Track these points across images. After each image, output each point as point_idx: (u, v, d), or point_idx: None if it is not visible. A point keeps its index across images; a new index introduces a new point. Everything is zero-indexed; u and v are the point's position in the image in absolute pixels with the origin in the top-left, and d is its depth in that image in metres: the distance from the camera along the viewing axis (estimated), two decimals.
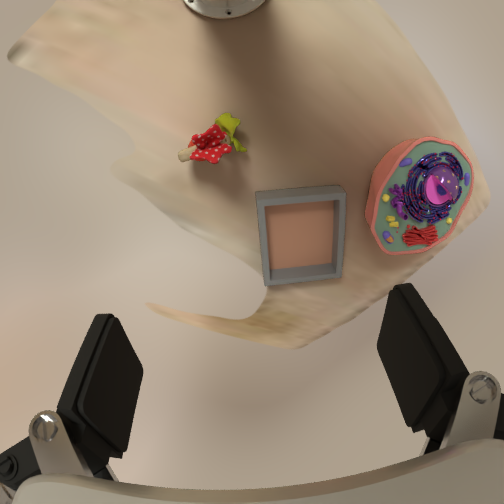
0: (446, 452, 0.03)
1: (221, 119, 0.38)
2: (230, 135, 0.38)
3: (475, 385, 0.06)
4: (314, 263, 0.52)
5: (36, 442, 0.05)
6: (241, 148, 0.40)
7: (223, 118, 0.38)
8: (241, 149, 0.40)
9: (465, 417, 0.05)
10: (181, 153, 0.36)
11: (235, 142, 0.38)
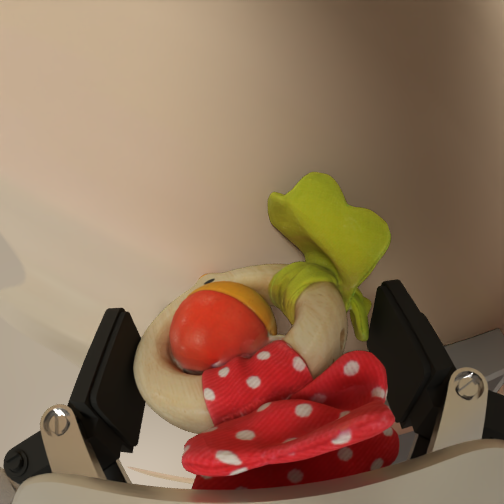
0: (446, 452, 0.03)
1: (302, 206, 0.10)
2: (345, 288, 0.09)
3: (461, 382, 0.06)
4: (411, 430, 0.24)
5: (48, 436, 0.05)
6: None
7: (312, 203, 0.09)
8: None
9: (450, 413, 0.05)
10: (143, 395, 0.08)
11: (362, 317, 0.09)
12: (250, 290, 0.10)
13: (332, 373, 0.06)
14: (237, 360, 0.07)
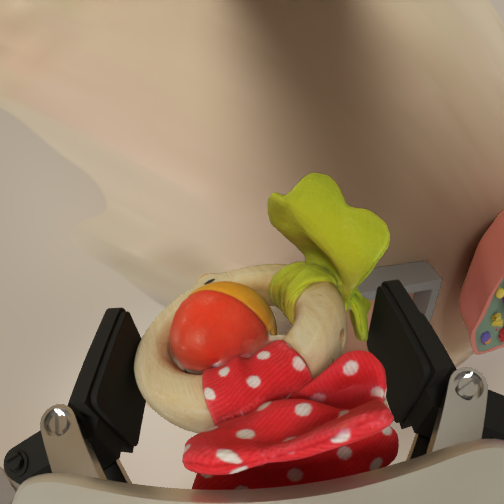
0: (446, 452, 0.03)
1: (302, 207, 0.10)
2: (345, 289, 0.09)
3: (461, 382, 0.06)
4: None
5: (48, 436, 0.05)
6: None
7: (311, 203, 0.10)
8: None
9: (450, 413, 0.05)
10: (144, 394, 0.08)
11: (361, 317, 0.09)
12: (250, 290, 0.10)
13: (331, 373, 0.06)
14: (237, 359, 0.07)
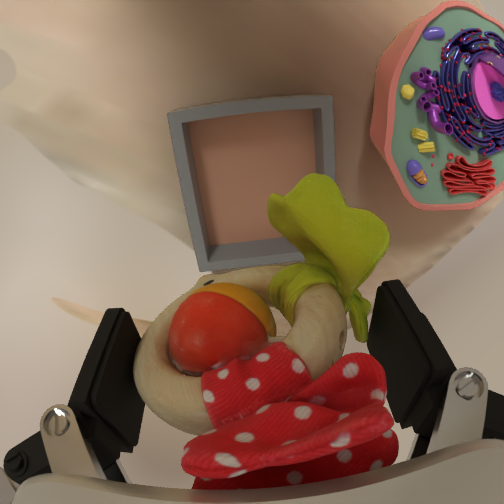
0: (446, 452, 0.03)
1: (302, 207, 0.10)
2: (345, 290, 0.09)
3: (461, 382, 0.06)
4: None
5: (48, 436, 0.05)
6: None
7: (311, 204, 0.09)
8: None
9: (450, 412, 0.05)
10: (143, 396, 0.08)
11: (361, 318, 0.09)
12: (249, 291, 0.10)
13: (331, 375, 0.06)
14: (237, 361, 0.07)
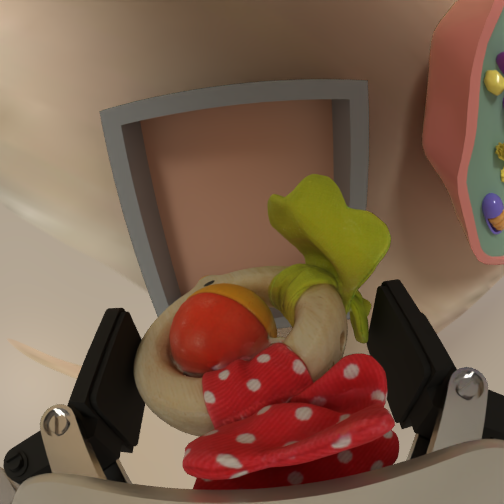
0: (446, 452, 0.03)
1: (302, 208, 0.10)
2: (345, 291, 0.09)
3: (461, 382, 0.06)
4: None
5: (48, 436, 0.05)
6: None
7: (311, 205, 0.09)
8: None
9: (450, 413, 0.05)
10: (144, 397, 0.08)
11: (362, 319, 0.09)
12: (250, 292, 0.10)
13: (332, 376, 0.06)
14: (237, 363, 0.07)
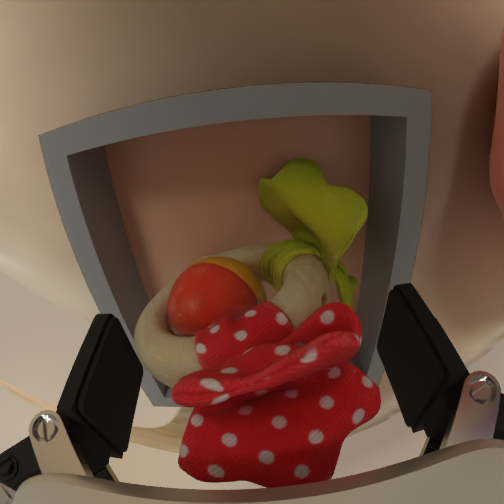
0: (446, 452, 0.03)
1: (287, 187, 0.11)
2: (328, 260, 0.10)
3: (475, 385, 0.06)
4: None
5: (36, 442, 0.05)
6: None
7: (295, 183, 0.10)
8: None
9: (465, 417, 0.05)
10: (142, 358, 0.09)
11: (346, 287, 0.10)
12: (241, 263, 0.10)
13: (310, 322, 0.07)
14: (227, 318, 0.08)
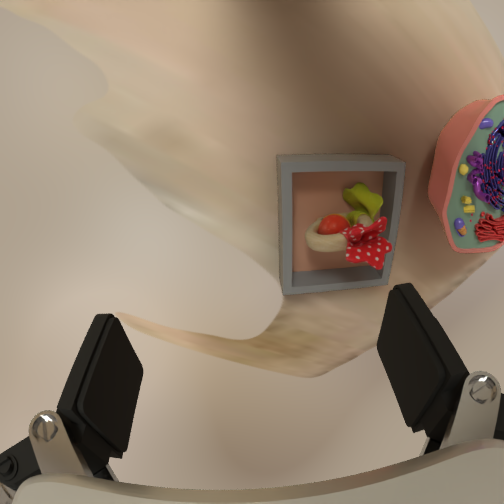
0: (446, 452, 0.03)
1: (357, 192, 0.30)
2: (370, 216, 0.30)
3: (475, 385, 0.06)
4: (350, 265, 0.37)
5: (36, 442, 0.05)
6: None
7: (360, 191, 0.30)
8: None
9: (465, 417, 0.05)
10: (319, 242, 0.28)
11: None
12: None
13: None
14: (348, 227, 0.28)
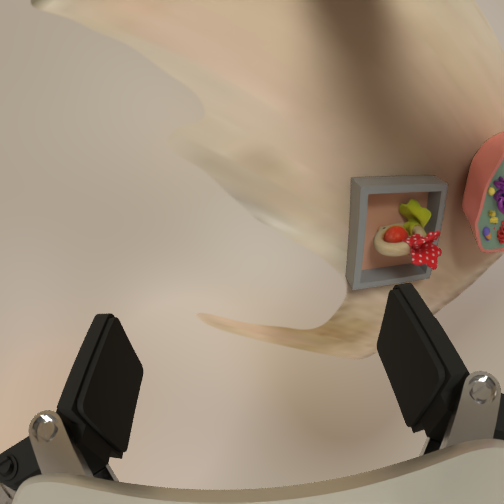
0: (446, 452, 0.03)
1: (411, 207, 0.36)
2: (421, 226, 0.36)
3: (475, 385, 0.06)
4: (400, 263, 0.43)
5: (36, 442, 0.05)
6: None
7: (413, 206, 0.36)
8: None
9: (465, 417, 0.05)
10: (389, 249, 0.34)
11: (425, 234, 0.36)
12: (402, 226, 0.36)
13: (428, 235, 0.32)
14: None
